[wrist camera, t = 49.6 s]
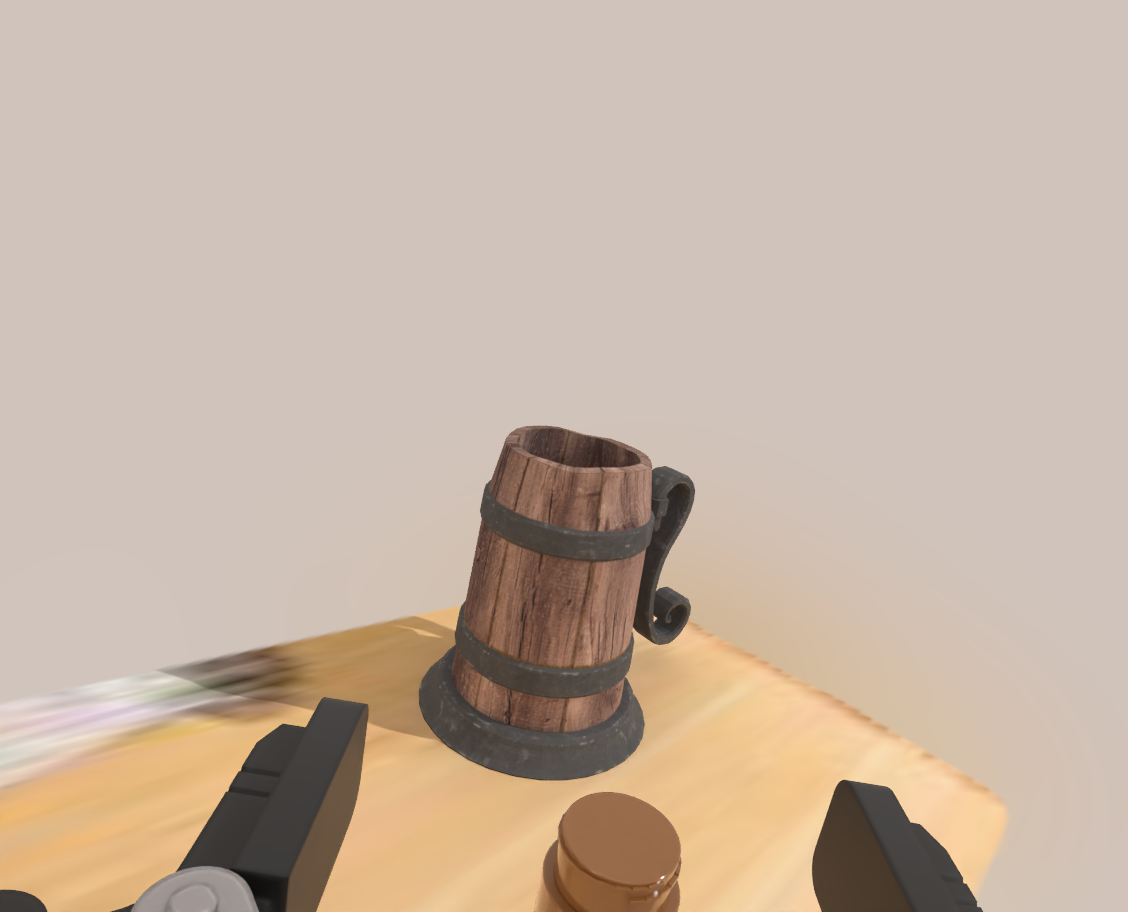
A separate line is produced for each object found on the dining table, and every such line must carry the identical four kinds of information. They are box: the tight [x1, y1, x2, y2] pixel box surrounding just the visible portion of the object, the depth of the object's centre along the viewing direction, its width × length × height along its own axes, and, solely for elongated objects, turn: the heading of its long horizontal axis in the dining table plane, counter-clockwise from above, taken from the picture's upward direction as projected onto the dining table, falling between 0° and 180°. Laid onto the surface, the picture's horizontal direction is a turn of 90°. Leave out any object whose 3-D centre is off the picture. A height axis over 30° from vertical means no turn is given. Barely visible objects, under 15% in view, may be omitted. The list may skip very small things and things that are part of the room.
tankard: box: [419, 426, 695, 780], centre depth 57 cm, size 24×17×20 cm
